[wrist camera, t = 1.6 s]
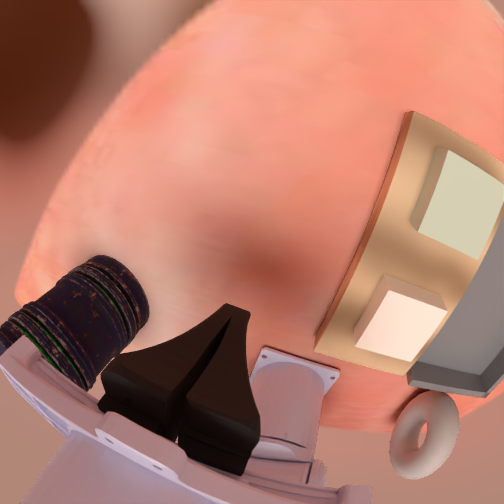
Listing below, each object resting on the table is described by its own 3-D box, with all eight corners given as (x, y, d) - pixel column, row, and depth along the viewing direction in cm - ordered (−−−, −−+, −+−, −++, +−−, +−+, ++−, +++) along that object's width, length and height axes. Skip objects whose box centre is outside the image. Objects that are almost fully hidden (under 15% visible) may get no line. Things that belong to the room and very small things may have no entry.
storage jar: (148, 342, 30) (75, 436, 17) (88, 306, 31) (12, 378, 18) (152, 276, 25) (42, 384, 12) (82, 240, 26) (-23, 312, 13)
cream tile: (407, 344, 19) (410, 362, 17) (354, 328, 20) (354, 346, 18) (440, 295, 16) (447, 311, 15) (384, 274, 17) (388, 290, 15)
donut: (404, 422, 26) (406, 491, 17) (383, 419, 26) (381, 491, 17) (455, 373, 21) (473, 452, 12) (433, 368, 21) (448, 453, 13)
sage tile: (466, 247, 15) (477, 260, 13) (409, 220, 15) (417, 231, 14) (493, 181, 12) (508, 187, 11) (435, 147, 13) (448, 149, 11)
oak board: (401, 360, 22) (403, 376, 20) (315, 335, 23) (313, 351, 21) (503, 169, 13) (517, 174, 11) (405, 112, 14) (414, 110, 12)
